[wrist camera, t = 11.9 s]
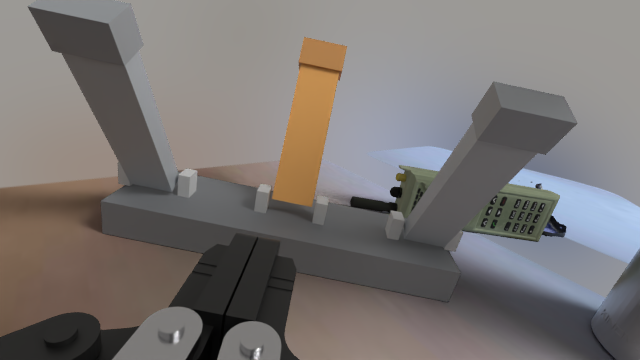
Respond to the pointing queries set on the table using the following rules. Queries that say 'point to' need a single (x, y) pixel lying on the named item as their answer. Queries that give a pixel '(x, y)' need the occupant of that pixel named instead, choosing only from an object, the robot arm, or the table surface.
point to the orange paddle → (308, 121)
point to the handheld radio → (494, 219)
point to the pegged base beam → (284, 232)
